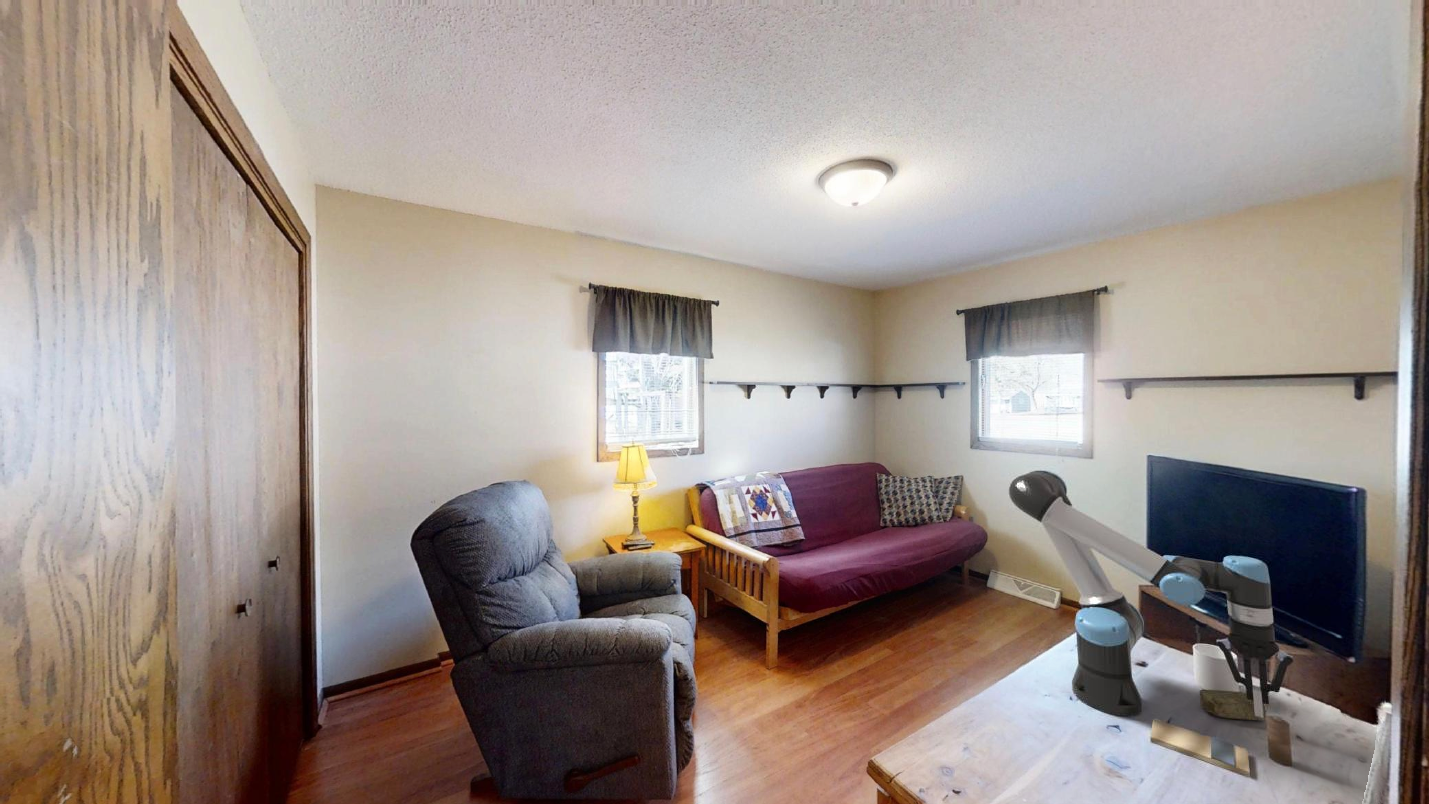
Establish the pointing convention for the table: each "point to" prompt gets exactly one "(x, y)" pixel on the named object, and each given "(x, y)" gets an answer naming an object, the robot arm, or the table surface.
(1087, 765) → the table surface
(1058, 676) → the table surface
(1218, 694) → the stone block
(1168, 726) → the flat metallic slab
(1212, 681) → the mug
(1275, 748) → the brown wooden cylinder
